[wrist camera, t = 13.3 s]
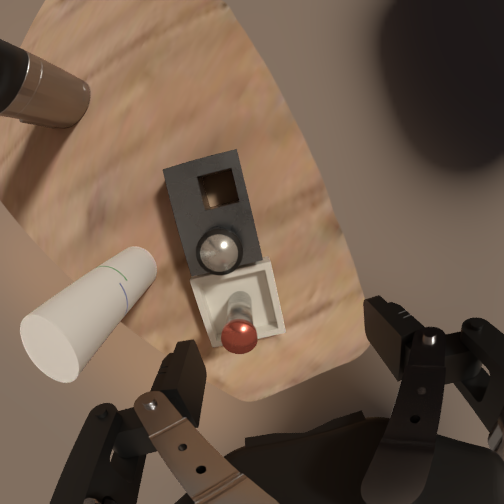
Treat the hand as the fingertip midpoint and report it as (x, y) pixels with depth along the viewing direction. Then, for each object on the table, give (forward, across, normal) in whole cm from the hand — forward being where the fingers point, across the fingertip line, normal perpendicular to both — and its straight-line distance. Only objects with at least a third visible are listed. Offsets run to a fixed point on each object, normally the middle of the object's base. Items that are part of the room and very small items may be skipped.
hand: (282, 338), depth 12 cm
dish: (+30, +5, +10) cm, 32 cm away
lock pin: (+29, +5, +10) cm, 31 cm away
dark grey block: (+30, +5, -4) cm, 31 cm away
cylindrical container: (+30, +20, +2) cm, 36 cm away
